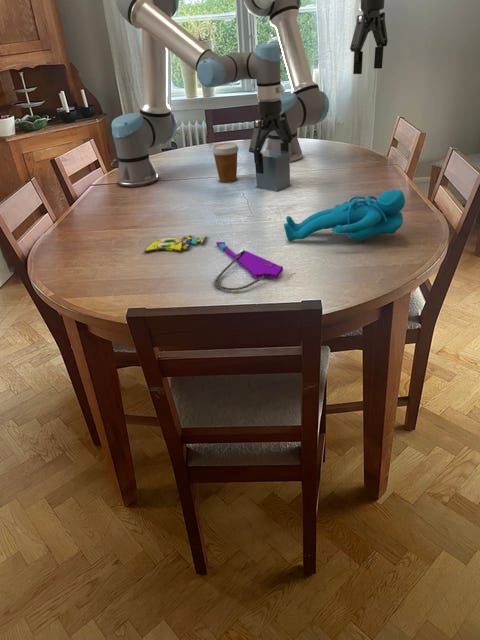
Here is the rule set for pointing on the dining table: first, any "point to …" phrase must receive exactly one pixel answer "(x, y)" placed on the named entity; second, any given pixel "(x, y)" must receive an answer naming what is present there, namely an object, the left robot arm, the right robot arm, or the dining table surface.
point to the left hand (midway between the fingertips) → (272, 167)
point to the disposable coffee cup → (226, 161)
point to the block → (274, 170)
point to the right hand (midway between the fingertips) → (367, 71)
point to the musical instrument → (250, 266)
